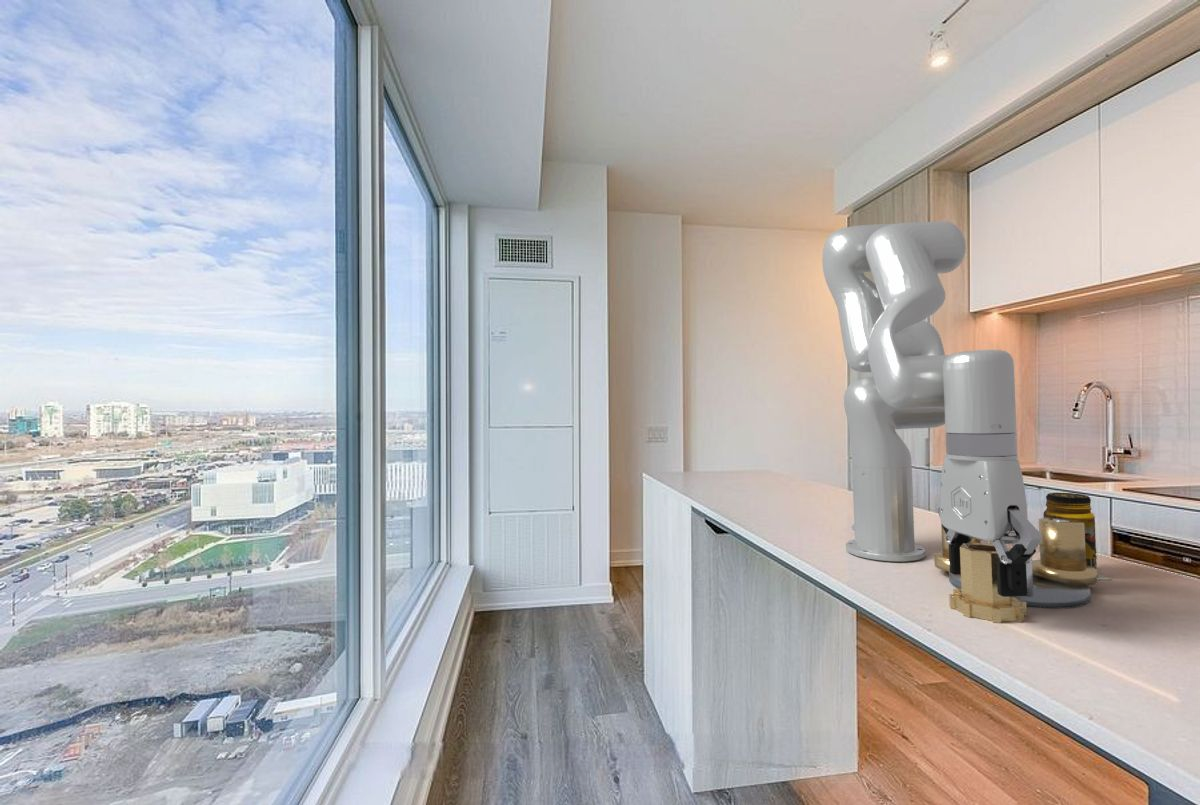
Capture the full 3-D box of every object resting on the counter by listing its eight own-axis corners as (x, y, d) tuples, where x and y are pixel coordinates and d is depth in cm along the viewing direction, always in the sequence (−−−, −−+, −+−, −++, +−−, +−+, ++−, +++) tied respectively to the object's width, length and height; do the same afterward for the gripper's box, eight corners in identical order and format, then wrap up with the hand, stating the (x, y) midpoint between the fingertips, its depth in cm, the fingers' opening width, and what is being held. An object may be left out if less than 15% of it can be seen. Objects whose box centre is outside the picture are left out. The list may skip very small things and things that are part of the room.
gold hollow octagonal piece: (937, 601, 74) (935, 541, 74) (994, 599, 74) (992, 539, 74) (978, 623, 66) (976, 557, 66) (1042, 621, 66) (1039, 555, 66)
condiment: (1112, 580, 80) (1109, 498, 80) (1046, 578, 82) (1043, 498, 82) (1079, 566, 87) (1076, 491, 87) (1019, 564, 89) (1016, 490, 89)
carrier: (919, 569, 88) (917, 511, 88) (1033, 565, 88) (1031, 507, 88) (1002, 610, 70) (999, 536, 70) (1145, 604, 70) (1142, 531, 70)
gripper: (911, 443, 79) (916, 565, 78) (1002, 453, 61) (1009, 610, 61) (963, 442, 79) (967, 563, 79) (1068, 451, 61) (1075, 607, 61)
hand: (986, 583), depth 70 cm, fingers open, 8 cm apart
